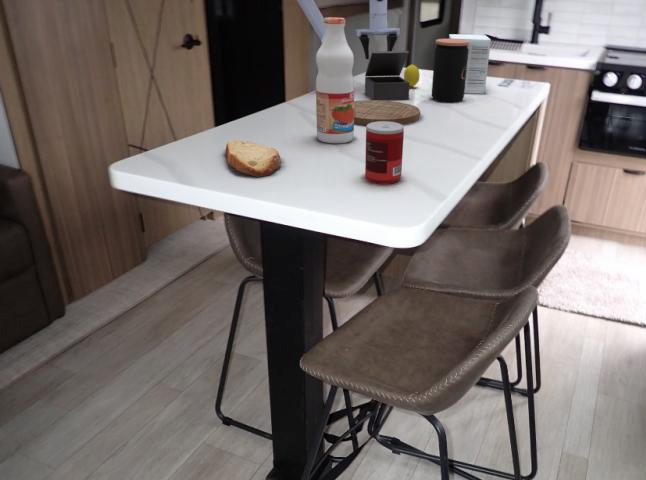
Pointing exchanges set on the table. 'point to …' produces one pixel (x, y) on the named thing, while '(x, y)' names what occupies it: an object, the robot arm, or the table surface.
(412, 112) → the trivet
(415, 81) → the lemon
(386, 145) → the canned food
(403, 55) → the dark grey box lid
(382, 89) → the dark grey square box
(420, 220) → the table surface
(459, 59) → the coffee jar
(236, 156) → the bread slice
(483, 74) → the supplement box
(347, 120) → the fruit juice
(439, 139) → the table surface
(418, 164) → the table surface
